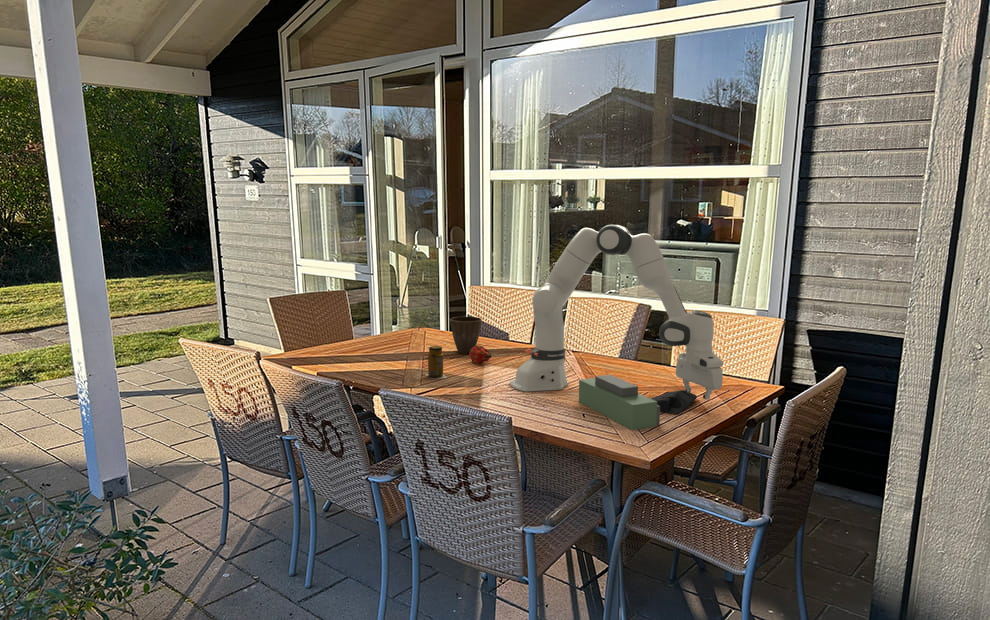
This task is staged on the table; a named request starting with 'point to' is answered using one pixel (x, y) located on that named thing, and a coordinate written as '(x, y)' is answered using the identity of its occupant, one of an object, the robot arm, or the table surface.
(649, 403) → the block
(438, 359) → the condiment
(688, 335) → the robot arm
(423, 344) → the table surface
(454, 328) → the plant pot
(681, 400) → the black crumpled cloth
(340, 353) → the table surface
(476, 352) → the dragon fruit
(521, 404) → the table surface
